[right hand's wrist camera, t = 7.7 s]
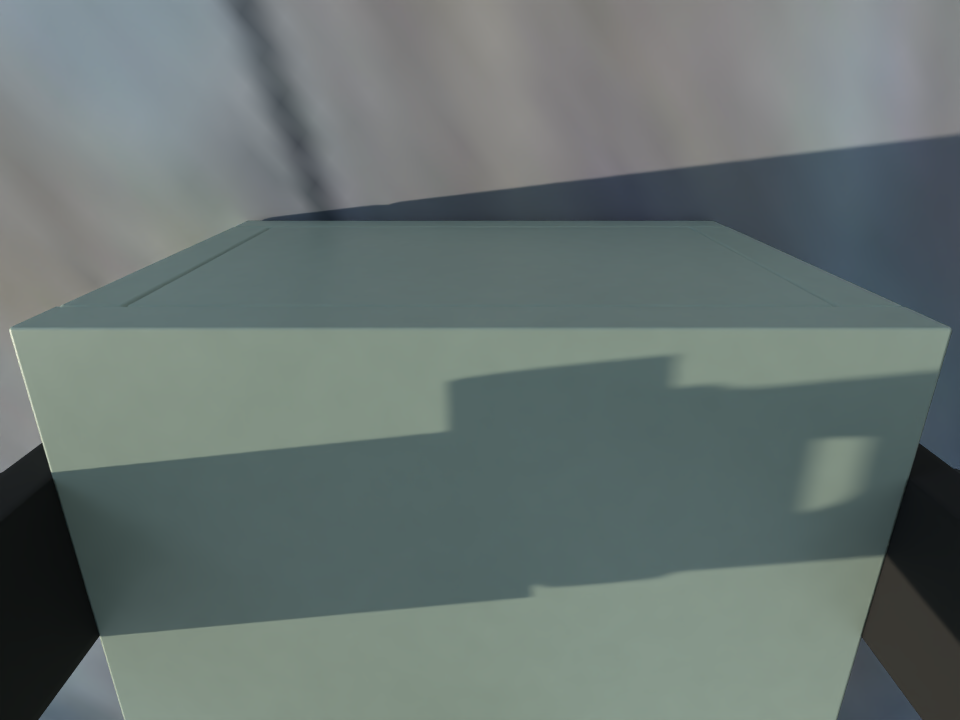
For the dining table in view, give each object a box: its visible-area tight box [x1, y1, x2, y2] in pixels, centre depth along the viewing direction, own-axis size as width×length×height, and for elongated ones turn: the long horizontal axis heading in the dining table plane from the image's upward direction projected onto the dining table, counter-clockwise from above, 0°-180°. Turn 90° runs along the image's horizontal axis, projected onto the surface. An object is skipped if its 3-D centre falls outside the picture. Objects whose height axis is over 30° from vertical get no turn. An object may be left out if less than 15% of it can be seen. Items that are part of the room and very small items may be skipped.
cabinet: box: [9, 221, 952, 720], centre depth 14 cm, size 17×11×8 cm, turn 0°
